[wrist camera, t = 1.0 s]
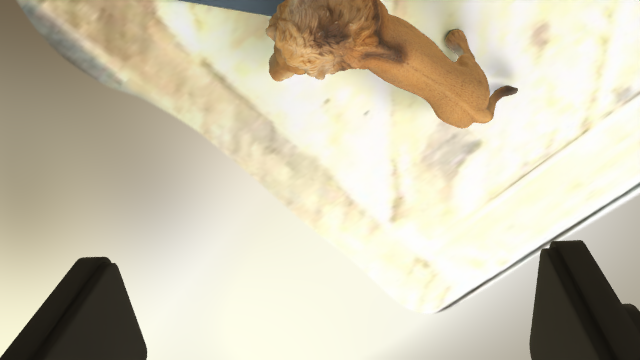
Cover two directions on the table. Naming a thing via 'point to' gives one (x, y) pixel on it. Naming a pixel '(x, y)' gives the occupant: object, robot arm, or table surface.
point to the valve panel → (244, 5)
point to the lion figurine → (381, 55)
